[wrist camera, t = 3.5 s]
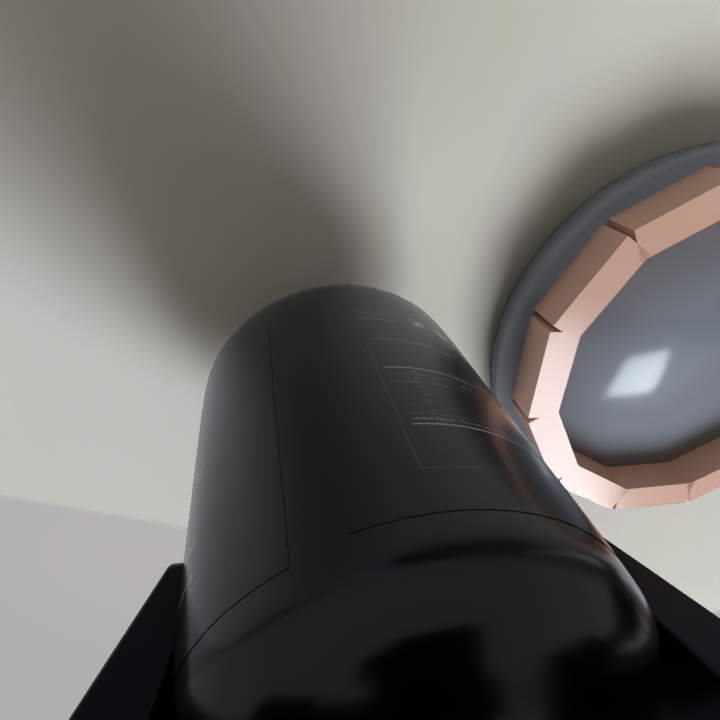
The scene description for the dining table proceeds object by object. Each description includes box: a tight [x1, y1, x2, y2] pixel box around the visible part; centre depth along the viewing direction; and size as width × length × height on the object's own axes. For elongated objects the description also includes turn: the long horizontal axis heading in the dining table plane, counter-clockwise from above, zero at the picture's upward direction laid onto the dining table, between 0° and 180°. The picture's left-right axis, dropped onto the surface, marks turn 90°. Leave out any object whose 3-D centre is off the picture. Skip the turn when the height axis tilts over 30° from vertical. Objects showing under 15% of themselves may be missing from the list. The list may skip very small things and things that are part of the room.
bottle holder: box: [491, 143, 720, 510], centre depth 18 cm, size 13×13×2 cm
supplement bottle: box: [166, 285, 665, 720], centre depth 9 cm, size 7×7×12 cm
